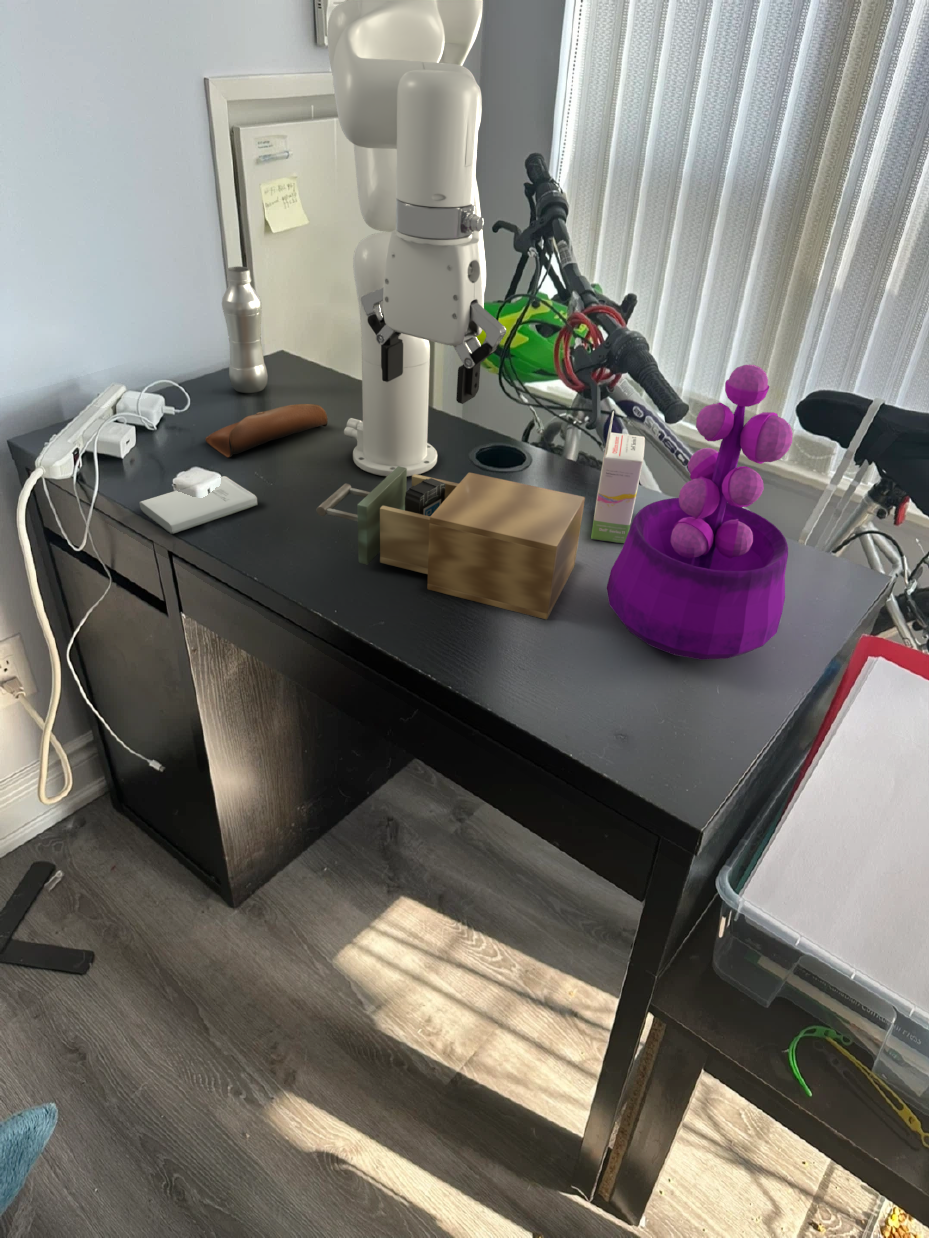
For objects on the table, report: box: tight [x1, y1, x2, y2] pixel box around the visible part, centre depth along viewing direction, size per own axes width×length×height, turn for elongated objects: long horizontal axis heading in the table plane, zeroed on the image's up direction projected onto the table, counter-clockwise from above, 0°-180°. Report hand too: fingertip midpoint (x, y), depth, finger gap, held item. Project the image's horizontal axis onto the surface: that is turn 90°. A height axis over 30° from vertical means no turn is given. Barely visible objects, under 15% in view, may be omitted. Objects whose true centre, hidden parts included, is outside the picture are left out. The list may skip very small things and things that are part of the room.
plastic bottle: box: [221, 265, 269, 394], centre depth 140 cm, size 6×7×20 cm
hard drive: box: [139, 475, 258, 535], centre depth 110 cm, size 2×8×12 cm
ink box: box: [590, 410, 646, 544], centre depth 108 cm, size 9×5×15 cm, turn 168°
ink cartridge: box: [405, 477, 445, 516], centre depth 100 cm, size 5×2×8 cm, turn 144°
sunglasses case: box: [204, 403, 329, 459], centre depth 130 cm, size 18×7×7 cm
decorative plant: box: [606, 364, 794, 661], centre depth 86 cm, size 19×18×30 cm
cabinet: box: [426, 472, 586, 620], centre depth 98 cm, size 15×13×10 cm
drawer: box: [315, 466, 459, 575], centre depth 102 cm, size 20×11×8 cm, turn 70°
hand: (428, 388), depth 93 cm, fingers open, 9 cm apart
